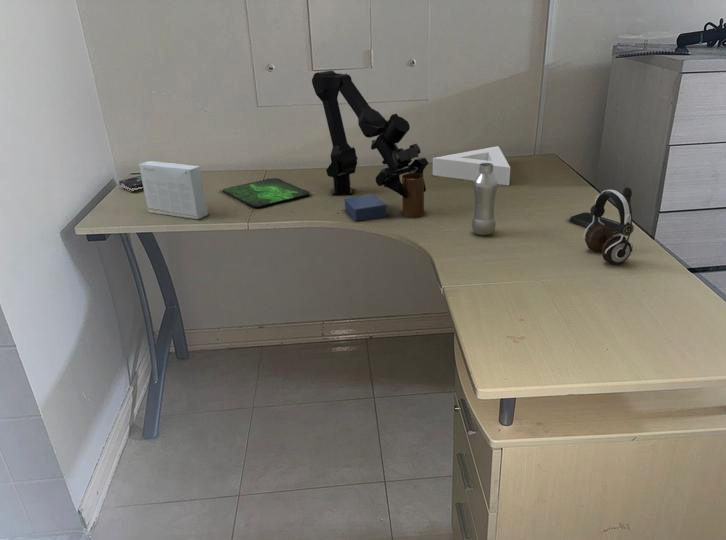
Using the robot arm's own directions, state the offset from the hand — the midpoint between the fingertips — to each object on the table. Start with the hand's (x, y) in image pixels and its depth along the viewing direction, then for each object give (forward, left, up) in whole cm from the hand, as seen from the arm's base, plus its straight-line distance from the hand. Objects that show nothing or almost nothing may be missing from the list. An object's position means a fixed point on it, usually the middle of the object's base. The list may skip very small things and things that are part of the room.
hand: (416, 194), depth 197 cm
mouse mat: (-28, -51, -7) cm, 59 cm away
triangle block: (-42, +22, -7) cm, 48 cm away
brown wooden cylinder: (-1, -1, -7) cm, 7 cm away
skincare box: (-10, -77, -7) cm, 78 cm away
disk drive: (-42, -97, -7) cm, 106 cm away
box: (-3, -16, -7) cm, 18 cm away
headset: (+38, +47, -7) cm, 61 cm away
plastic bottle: (+18, +18, -7) cm, 26 cm away
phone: (+15, +52, -7) cm, 55 cm away
